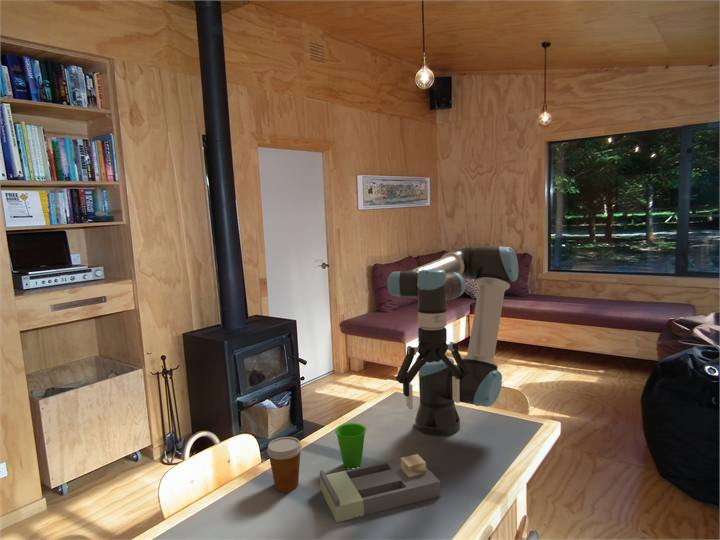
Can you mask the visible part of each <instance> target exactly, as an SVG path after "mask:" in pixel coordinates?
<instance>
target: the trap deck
mask: <svg viewBox="0 0 720 540" xmlns="http://www.w3.org/2000/svg"><path fill="white" fill-rule="evenodd" d="M401 458H402V457H400V458H396V459H395V458H394V459H391V460H387V461H382V462H377V463H374V464H368V465H364V466H360V467H359V468H355V469H346V470H342V471H337V472H332V473H329V474H326V473H325V471H324V470H323V469H322V470H319V482H320V483H319V485H320V492H321V491H322V492H321V493H323V494H322V496H323V495H324V496H323V498H324V499H325V501H326V504H327V506H328V508H329V510H330V512H331V514H332V515H333V518H334V520H335V522H336V523H341V522H343V521H347V520H351V519H355V517H356V518H359V516H360V517H364V516H367V515H371V514H375V513H379V512H384V511H386V510H387V511H388V510H390V509H394V508H398V507H403V506H406V505H410V504H414V503H418V502H422V501H426V500H430V499H435V498H438V497H441V480H440V479H439V478H438V477H436V475H435V474H434V473H433V472H432V471H431V470H430V469H429V468H428V466H426V473H425V474H421V475H416V476H412V477H408V476H407V474H406V473H405V472H404V471H403V470H402V469H401Z"/></svg>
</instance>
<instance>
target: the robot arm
mask: <svg viewBox="0 0 720 540" xmlns="http://www.w3.org/2000/svg"><path fill="white" fill-rule="evenodd" d="M518 277H519V262H518V256H517V254H516V251H515V249H513V248H512V247H509V246H501V245H500V246H473V245H472V246H466V247H465V246H464V247H461V248H457V249H455V250H451V251H449V252H446V253H444V254H442V256H441V257H440V258H438V259H436V260H433V261H431V262H428V263H426V264H423V265H420V266H418V267H415V268H413V269H409V270H406V271H401V270H399V271H392V272H391V273H390V274H389V276H388V278H387V282H386V284H387V291H388V293H389V294H390V295H391V296H393V297H400V298H415V299H417V326H418V327H419V328H417V330H418V331H417V334H418V336H417V337H418V338H417V339H418V341H417V342H418V345H417V346H411V345H408V346H407V348H406V355H405V357H404V359H403V360H402V364H401V366H400V369H399V370H398V372H397V375H396V377H395V381H397V382H398V383H399V384H402V394H403V395H404V397H406V399H405V400H406V407H408V409H409V410H413V409H414V406H413V405H414V404H413V403H414V402H413V401H414V398H413V396H414V395H413V394H414V392H413V384H412V383H411V382H412V381H413V380H414V378H415V377H416V375H417V374H418V384H419V385H418V387H419V388H418V390H419V405H418V409H417V412H416V416H415V419H414V425H415V428H416V429H417V430H418V431H419V432H420V433H424V434H427V435H430V436H449V435H452V434H454V433H456V432H458V431H459V430H460V429H461V418H460V416H459V413H458V410H457V408H456V404H460V403H463V404H468V405H474V406H476V407H479V406H481V407H484V408H485V407H486V408H487V407H491V406H493V405H494V404H495V403H496V402H497V400H498V398H499V396H500V392H501V389H502V387H503V375H502V373H501V371H499V370H498V367H499V366H498V364H497V363H496V362H495V355H496V354H495V353H496V349H497V343H498V335H499V329H500V323H501V317H502V309H503V303H504V296H505V292H506V291H507V290H509V289H510V288H511V282H512V283H513V282H516V281H517V280H518ZM465 279H468V280H469V279H470V280H475V284H476V285H477V286H478V290H477V296H476V302H475V307H474V313H473V319H472V325H471V331H470V337H469V343H468V349H467V354H466V356H464V357H462V356H461V354H460V352H459V345H458V344H457V343H455V342H453V341H450V342H449V343H447V335H448V332H447V328H446V326H447V302H449V301H451V300H455V299H456V300H457V298H458V297H461V296H462V295H463V294H464V293H465V291H466V286H467V284H466V280H465ZM448 351H449V352H450V353H451V355H452V357H453V358H452V357H448V356H447V355H446V353H447V352H448ZM417 353H418V354H419V355H418V356H417V357H416V360H415V362H414V363H413V360H414V357H415V356H416V355H417ZM412 363H413V364H412ZM455 363H456V364H455ZM411 365H412V366H411ZM455 403H456V404H455Z"/></svg>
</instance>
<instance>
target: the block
mask: <svg viewBox="0 0 720 540" xmlns="http://www.w3.org/2000/svg"><path fill="white" fill-rule="evenodd" d="M400 458H401V469H402V470H403V471H404V472H405V473H406V474H407V476H408V477H412V476H416V475H421V474H425V473H426V467H427V462H426V461H425V460H424V459H423V458H422V457H421V455H419V454H418V453H416V454H412V455H407V456H403V457H400Z"/></svg>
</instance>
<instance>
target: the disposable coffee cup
mask: <svg viewBox="0 0 720 540" xmlns="http://www.w3.org/2000/svg"><path fill="white" fill-rule="evenodd" d="M302 450H303V445H302V443H301V442H300V440H299V439H298V438H296V437H292V436H283V437H279V438H275V439H273V440H271V441H270V442H269V443H268V445H267V448H266V453H267V455H268V458H269V463H270V469H271V472H272V477H273V483H274V487H275V489H276V490H277V491H278V492H283V493H286V492H287V493H288V492H291V491H293V490H296V489H297V487H298V486H299V476H300V462H301V453H302Z"/></svg>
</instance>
